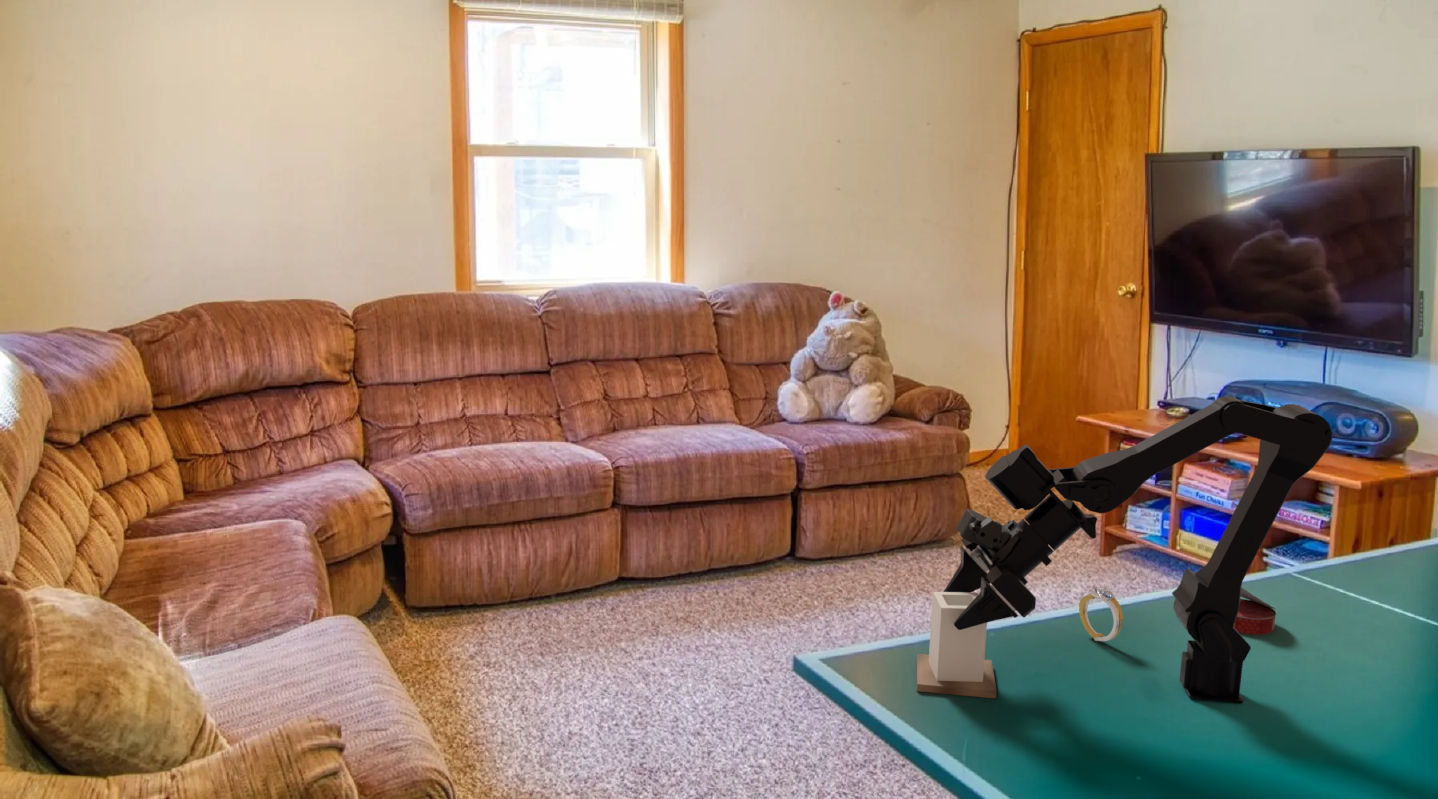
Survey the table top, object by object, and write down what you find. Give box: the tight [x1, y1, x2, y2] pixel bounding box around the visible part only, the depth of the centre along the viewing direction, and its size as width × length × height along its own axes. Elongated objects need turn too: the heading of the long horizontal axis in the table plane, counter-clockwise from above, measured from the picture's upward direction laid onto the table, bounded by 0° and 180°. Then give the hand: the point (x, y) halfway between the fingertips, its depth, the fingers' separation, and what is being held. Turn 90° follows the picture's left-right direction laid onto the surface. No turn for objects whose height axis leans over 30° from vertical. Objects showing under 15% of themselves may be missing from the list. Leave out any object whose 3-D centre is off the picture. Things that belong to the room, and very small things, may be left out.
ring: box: [1078, 586, 1124, 642], centre depth 167 cm, size 7×3×8 cm, turn 25°
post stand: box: [916, 653, 997, 699], centre depth 154 cm, size 10×10×4 cm
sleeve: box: [928, 591, 988, 682], centre depth 153 cm, size 6×6×10 cm
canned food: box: [1234, 587, 1277, 636], centre depth 176 cm, size 10×9×9 cm
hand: (948, 613), depth 152 cm, fingers open, 9 cm apart
